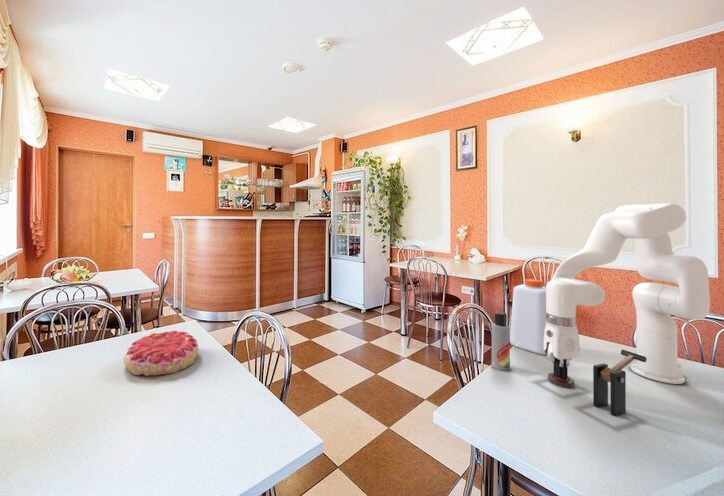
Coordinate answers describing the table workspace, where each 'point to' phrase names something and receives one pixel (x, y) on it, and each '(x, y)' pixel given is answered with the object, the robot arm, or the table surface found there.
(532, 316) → the plastic bottle
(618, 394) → the bracket
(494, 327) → the lotion bottle
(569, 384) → the button block
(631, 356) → the lever
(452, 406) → the table surface
